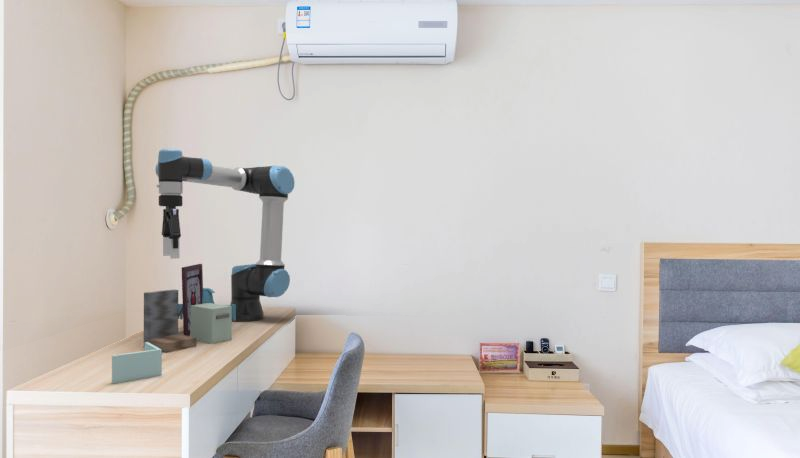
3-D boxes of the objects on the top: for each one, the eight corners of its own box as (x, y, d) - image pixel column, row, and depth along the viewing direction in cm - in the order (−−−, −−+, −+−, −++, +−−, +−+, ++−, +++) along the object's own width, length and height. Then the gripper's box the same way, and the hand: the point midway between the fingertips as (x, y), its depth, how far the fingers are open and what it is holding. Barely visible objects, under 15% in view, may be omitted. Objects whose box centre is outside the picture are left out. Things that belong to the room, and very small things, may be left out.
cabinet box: (209, 335, 201) (209, 302, 200) (232, 340, 194) (233, 306, 193) (190, 339, 194) (190, 305, 194) (213, 344, 187) (213, 309, 187)
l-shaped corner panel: (147, 368, 158) (147, 341, 158) (161, 377, 149) (161, 349, 149) (101, 375, 150) (101, 347, 150) (112, 385, 141) (113, 356, 141)
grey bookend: (173, 341, 190) (174, 289, 190) (196, 346, 183) (196, 292, 183) (143, 347, 181) (143, 292, 181) (166, 353, 174) (166, 296, 174)
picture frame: (186, 337, 198) (187, 267, 197) (159, 336, 198) (159, 267, 198) (204, 328, 214) (204, 263, 214) (179, 327, 215) (179, 263, 214)
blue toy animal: (243, 325, 220) (243, 287, 219) (235, 330, 211) (235, 290, 211) (175, 324, 222) (175, 286, 221) (164, 328, 213) (164, 289, 213)
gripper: (152, 195, 197) (153, 255, 197) (165, 193, 176) (165, 260, 176) (175, 195, 201) (175, 254, 202) (190, 194, 180) (190, 259, 180)
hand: (171, 257), depth 189 cm, fingers open, 13 cm apart
